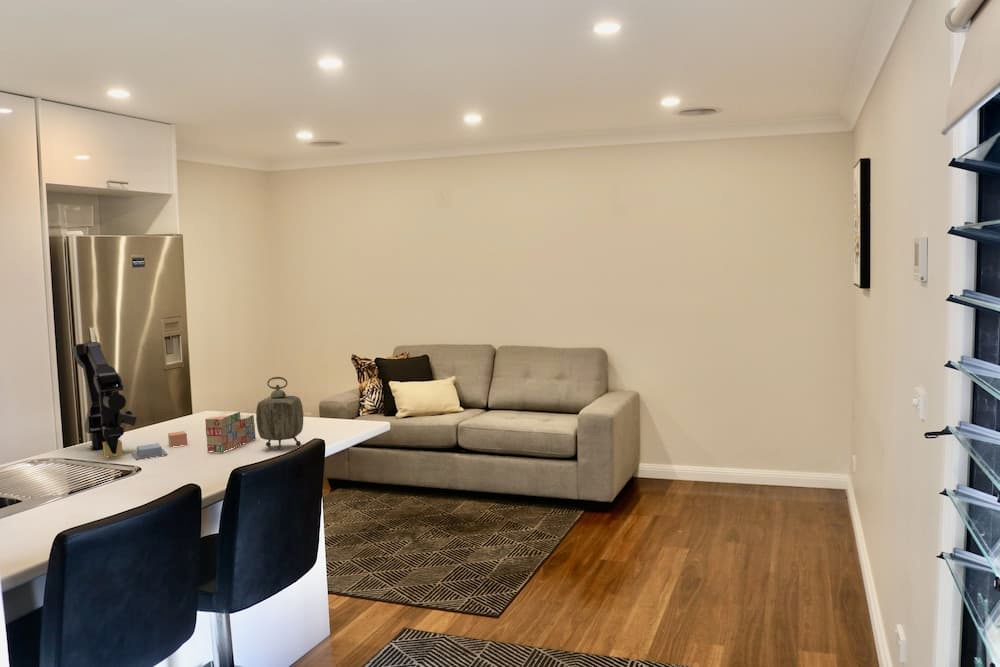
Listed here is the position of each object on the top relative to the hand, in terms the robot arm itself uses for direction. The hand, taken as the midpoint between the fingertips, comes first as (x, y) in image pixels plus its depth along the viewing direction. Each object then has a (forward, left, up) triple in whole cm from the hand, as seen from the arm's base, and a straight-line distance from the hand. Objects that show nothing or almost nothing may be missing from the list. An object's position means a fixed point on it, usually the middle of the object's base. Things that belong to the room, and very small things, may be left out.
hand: (112, 451), depth 292 cm
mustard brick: (0, 0, -1) cm, 1 cm away
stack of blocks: (+14, +37, -2) cm, 40 cm away
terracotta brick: (0, +21, -1) cm, 22 cm away
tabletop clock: (+30, +50, -1) cm, 59 cm away
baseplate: (+10, +10, -1) cm, 15 cm away
